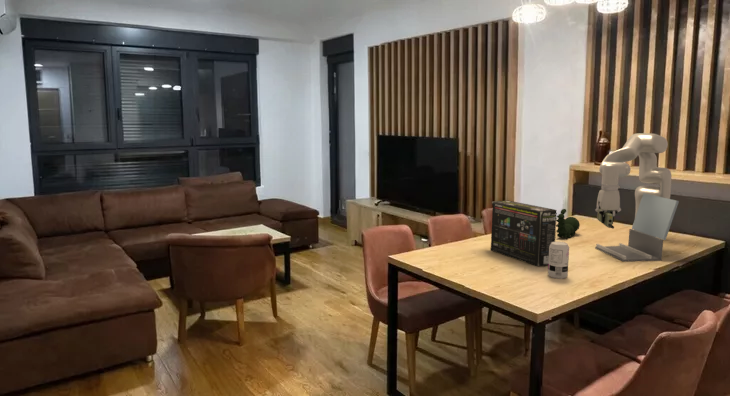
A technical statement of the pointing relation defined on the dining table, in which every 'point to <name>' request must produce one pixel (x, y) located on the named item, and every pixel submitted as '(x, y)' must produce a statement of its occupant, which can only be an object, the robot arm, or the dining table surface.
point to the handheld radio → (606, 219)
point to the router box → (523, 231)
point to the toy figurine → (566, 225)
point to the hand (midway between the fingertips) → (607, 223)
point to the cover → (655, 215)
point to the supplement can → (558, 260)
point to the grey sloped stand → (636, 248)
